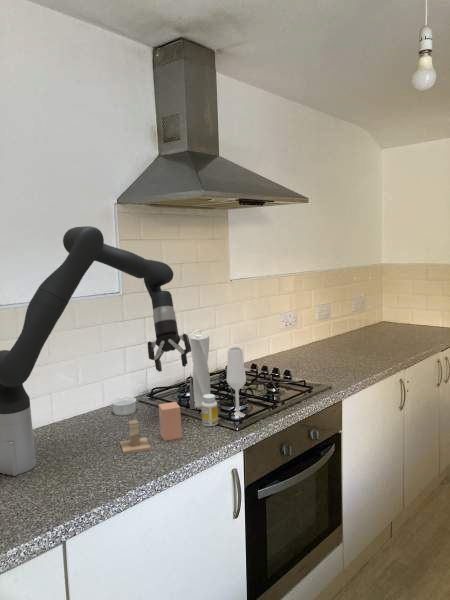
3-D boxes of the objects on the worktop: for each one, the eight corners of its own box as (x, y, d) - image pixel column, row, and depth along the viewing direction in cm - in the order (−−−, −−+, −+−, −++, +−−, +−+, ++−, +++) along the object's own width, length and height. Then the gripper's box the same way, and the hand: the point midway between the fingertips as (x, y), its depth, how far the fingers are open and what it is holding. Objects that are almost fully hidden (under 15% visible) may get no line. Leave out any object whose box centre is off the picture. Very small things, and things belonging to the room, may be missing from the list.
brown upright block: (181, 438, 154) (180, 407, 153) (164, 441, 153) (162, 409, 151) (177, 431, 160) (175, 401, 158) (160, 434, 158) (158, 404, 157)
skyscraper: (192, 401, 188) (188, 329, 184) (213, 401, 188) (209, 328, 184) (189, 409, 180) (185, 333, 176) (212, 408, 179) (208, 332, 176)
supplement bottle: (202, 427, 162) (201, 399, 161) (201, 421, 168) (200, 394, 167) (218, 426, 163) (217, 397, 162) (217, 420, 168) (216, 392, 167)
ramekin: (131, 416, 175) (130, 405, 175) (108, 416, 177) (107, 404, 177) (140, 408, 184) (139, 396, 183) (118, 407, 186) (117, 396, 185)
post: (150, 449, 147) (149, 424, 146) (123, 454, 144) (121, 428, 143) (146, 439, 154) (144, 415, 153) (120, 444, 152) (118, 419, 151)
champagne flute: (244, 421, 166) (242, 351, 163) (225, 419, 168) (222, 350, 165) (249, 414, 172) (247, 346, 169) (231, 412, 174) (228, 346, 171)
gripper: (141, 324, 165) (147, 372, 161) (181, 314, 163) (189, 363, 159) (149, 328, 173) (155, 374, 168) (188, 319, 170) (195, 365, 166)
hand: (172, 368), depth 164 cm, fingers open, 8 cm apart
